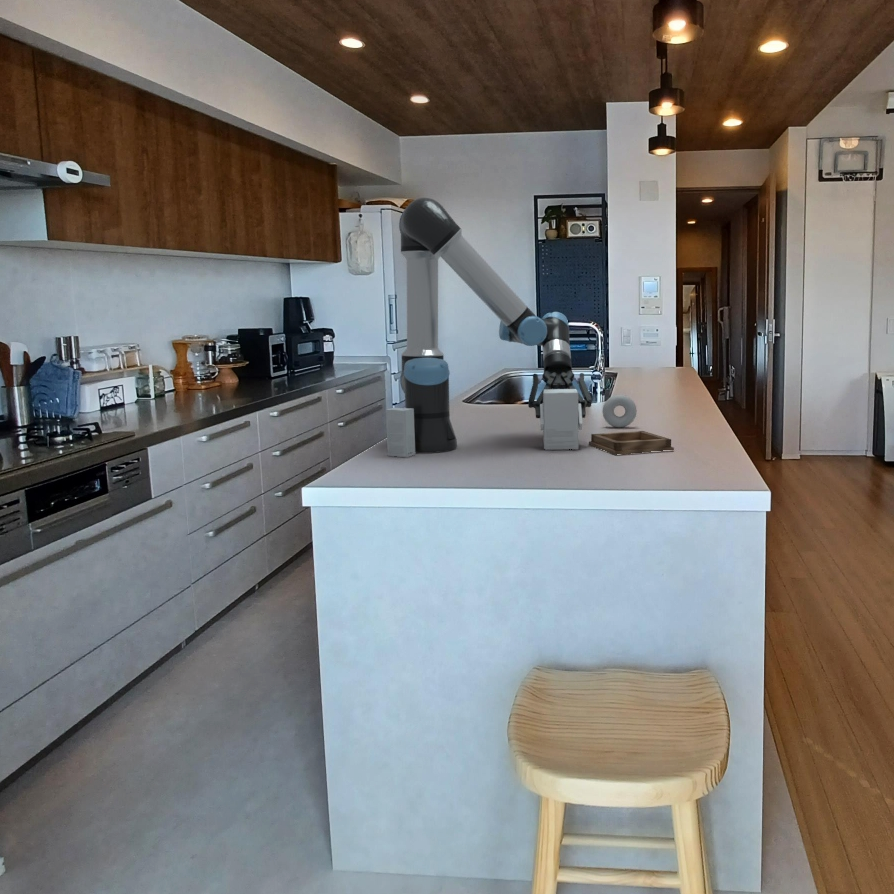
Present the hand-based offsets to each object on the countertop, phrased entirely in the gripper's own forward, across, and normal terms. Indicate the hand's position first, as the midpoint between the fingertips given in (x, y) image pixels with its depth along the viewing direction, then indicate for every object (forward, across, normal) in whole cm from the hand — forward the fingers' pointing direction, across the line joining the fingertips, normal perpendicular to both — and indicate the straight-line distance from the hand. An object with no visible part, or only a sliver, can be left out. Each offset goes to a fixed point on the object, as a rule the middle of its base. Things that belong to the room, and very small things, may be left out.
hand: (561, 426), depth 222 cm
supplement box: (+2, 0, -6) cm, 7 cm away
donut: (-21, -20, -30) cm, 42 cm away
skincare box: (+9, +41, +1) cm, 42 cm away
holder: (+4, -18, -4) cm, 19 cm away
